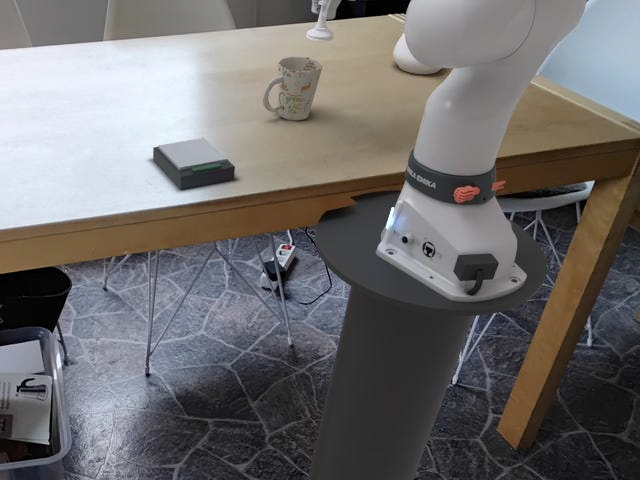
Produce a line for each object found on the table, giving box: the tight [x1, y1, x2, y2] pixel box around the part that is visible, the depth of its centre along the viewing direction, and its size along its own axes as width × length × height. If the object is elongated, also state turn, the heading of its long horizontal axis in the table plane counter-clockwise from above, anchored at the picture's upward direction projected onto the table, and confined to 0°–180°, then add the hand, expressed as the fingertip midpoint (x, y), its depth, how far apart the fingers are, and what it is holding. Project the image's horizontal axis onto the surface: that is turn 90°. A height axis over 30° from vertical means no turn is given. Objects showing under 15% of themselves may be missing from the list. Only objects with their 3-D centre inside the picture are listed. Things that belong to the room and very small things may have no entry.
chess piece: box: [305, 0, 335, 42], centre depth 125 cm, size 5×5×10 cm
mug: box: [262, 56, 323, 121], centre depth 141 cm, size 8×13×10 cm, turn 125°
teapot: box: [392, 32, 442, 75], centre depth 163 cm, size 20×12×10 cm, turn 10°
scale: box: [152, 137, 236, 191], centre depth 126 cm, size 12×10×3 cm
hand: (322, 15), depth 126 cm, fingers closed on chess piece
